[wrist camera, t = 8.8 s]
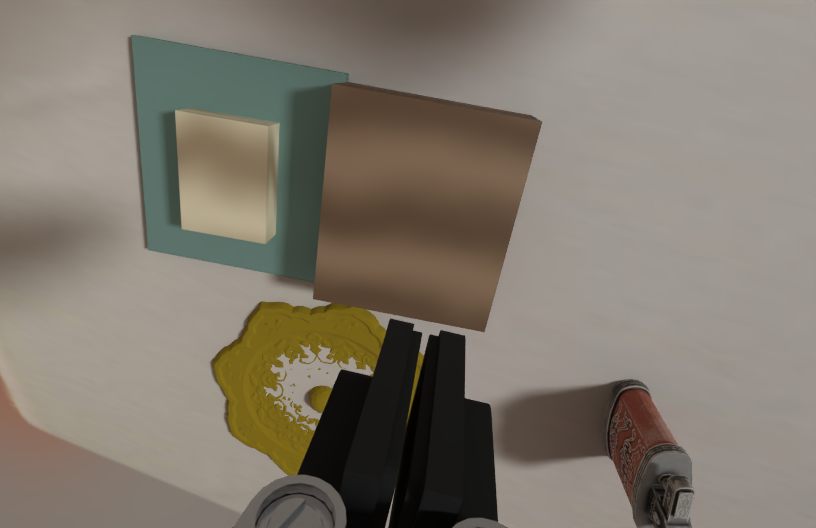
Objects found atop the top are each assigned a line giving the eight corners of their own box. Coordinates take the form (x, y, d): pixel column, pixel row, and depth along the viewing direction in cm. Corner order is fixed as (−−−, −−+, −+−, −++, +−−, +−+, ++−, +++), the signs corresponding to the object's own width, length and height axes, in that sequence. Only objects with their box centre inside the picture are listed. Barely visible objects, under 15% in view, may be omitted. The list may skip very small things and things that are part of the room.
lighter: (639, 455, 39) (696, 574, 30) (598, 454, 39) (642, 571, 30) (653, 379, 36) (722, 485, 26) (609, 379, 36) (661, 483, 27)
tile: (268, 126, 28) (279, 122, 30) (175, 110, 28) (192, 107, 30) (265, 244, 31) (275, 234, 33) (181, 229, 31) (196, 220, 33)
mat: (137, 35, 29) (131, 34, 29) (348, 73, 29) (346, 73, 28) (152, 247, 35) (148, 249, 35) (327, 280, 35) (325, 284, 34)
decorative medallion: (432, 297, 35) (431, 306, 34) (438, 481, 43) (438, 494, 41) (196, 298, 37) (187, 306, 36) (243, 472, 45) (236, 484, 44)
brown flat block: (347, 82, 29) (332, 83, 25) (531, 115, 29) (542, 121, 25) (328, 275, 35) (313, 298, 31) (481, 304, 34) (484, 332, 31)
